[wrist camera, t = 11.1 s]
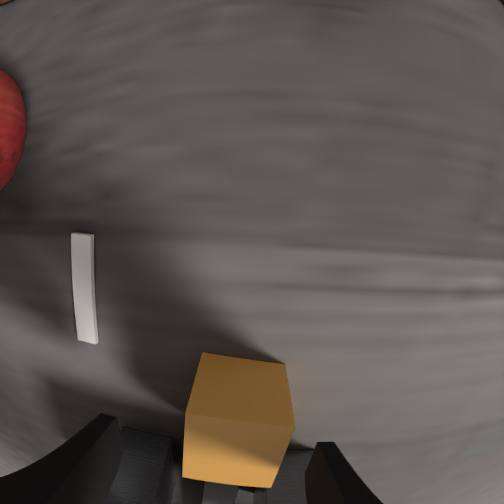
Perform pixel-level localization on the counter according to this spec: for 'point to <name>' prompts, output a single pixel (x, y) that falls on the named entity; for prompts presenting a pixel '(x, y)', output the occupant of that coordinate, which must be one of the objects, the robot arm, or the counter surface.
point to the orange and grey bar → (236, 425)
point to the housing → (163, 480)
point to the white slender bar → (84, 286)
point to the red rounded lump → (10, 127)
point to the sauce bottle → (4, 1)
